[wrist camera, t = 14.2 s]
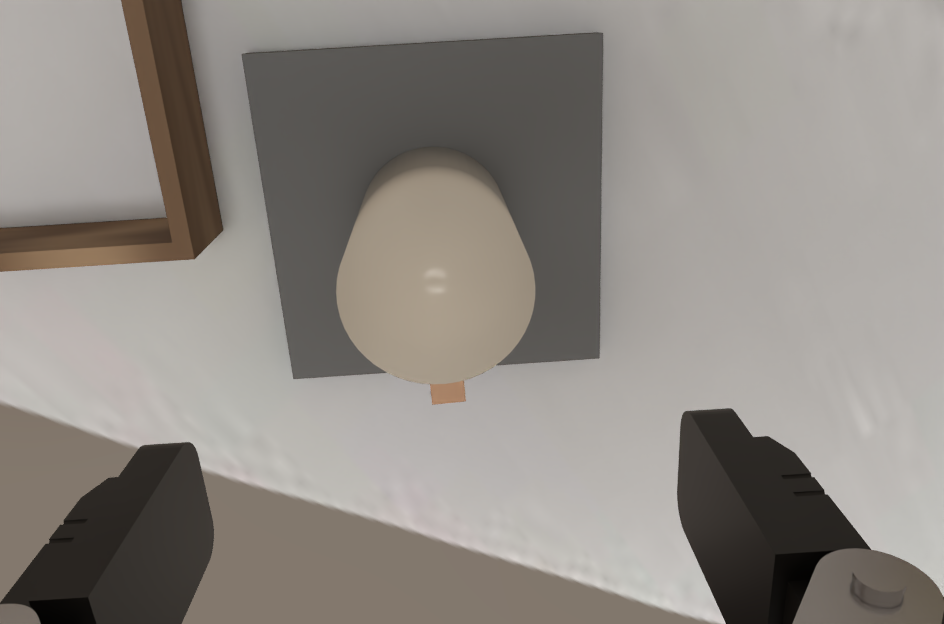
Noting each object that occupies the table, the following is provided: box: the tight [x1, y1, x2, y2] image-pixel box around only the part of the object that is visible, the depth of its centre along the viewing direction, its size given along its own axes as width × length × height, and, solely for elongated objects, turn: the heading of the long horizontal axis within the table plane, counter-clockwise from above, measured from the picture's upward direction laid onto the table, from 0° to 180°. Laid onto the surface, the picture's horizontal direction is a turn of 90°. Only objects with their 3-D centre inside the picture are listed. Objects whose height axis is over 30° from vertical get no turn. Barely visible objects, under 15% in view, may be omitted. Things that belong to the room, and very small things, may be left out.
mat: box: [242, 33, 603, 379], centre depth 27 cm, size 12×12×1 cm
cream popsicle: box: [336, 147, 535, 405], centre depth 24 cm, size 7×5×8 cm
